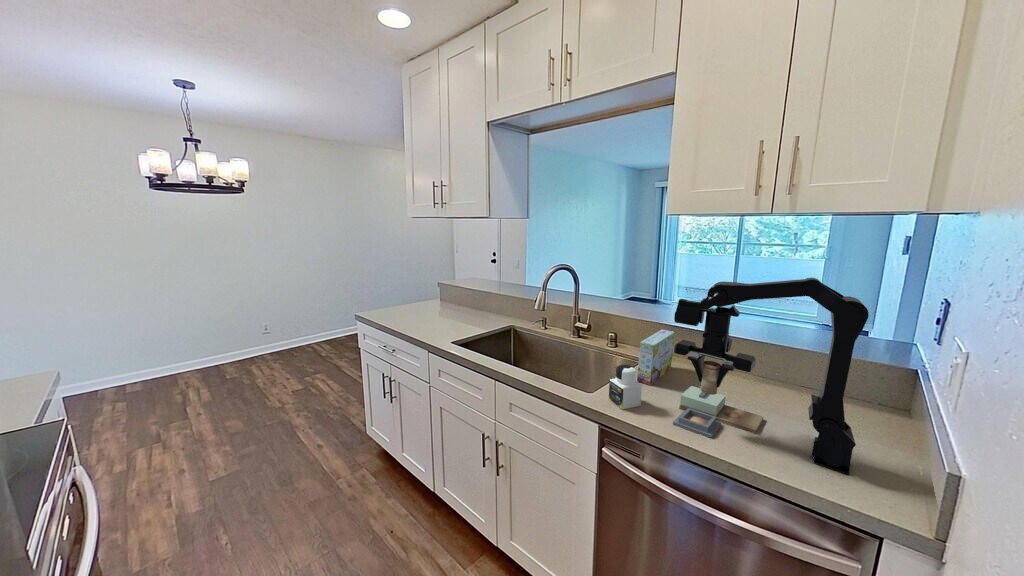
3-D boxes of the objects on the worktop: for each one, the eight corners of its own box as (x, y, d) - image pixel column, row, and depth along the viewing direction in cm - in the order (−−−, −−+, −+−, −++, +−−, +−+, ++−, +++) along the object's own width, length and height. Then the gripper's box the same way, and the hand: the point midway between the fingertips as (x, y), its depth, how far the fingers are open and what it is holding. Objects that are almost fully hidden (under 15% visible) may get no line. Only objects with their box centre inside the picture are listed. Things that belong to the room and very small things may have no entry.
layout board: (763, 419, 109) (763, 415, 109) (755, 433, 102) (755, 429, 102) (690, 397, 123) (691, 394, 123) (679, 408, 116) (679, 405, 116)
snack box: (651, 386, 131) (654, 344, 128) (636, 382, 135) (638, 341, 132) (672, 368, 147) (675, 331, 144) (657, 364, 151) (660, 328, 148)
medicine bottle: (608, 399, 122) (609, 364, 119) (626, 396, 124) (628, 361, 122) (621, 410, 115) (624, 372, 113) (641, 406, 117) (643, 369, 115)
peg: (718, 391, 104) (722, 363, 102) (714, 396, 101) (718, 368, 99) (703, 386, 107) (706, 359, 105) (698, 391, 104) (701, 363, 102)
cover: (724, 404, 116) (725, 393, 115) (715, 415, 109) (717, 403, 108) (690, 394, 122) (691, 383, 122) (680, 404, 116) (681, 392, 115)
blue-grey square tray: (721, 425, 107) (721, 417, 106) (711, 438, 100) (712, 430, 100) (684, 412, 113) (684, 405, 113) (672, 424, 107) (673, 417, 106)
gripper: (764, 331, 100) (755, 386, 103) (690, 316, 112) (684, 366, 115) (754, 340, 92) (745, 400, 95) (676, 324, 104) (670, 377, 107)
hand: (709, 384), depth 103 cm, fingers closed on peg, 4 cm apart
